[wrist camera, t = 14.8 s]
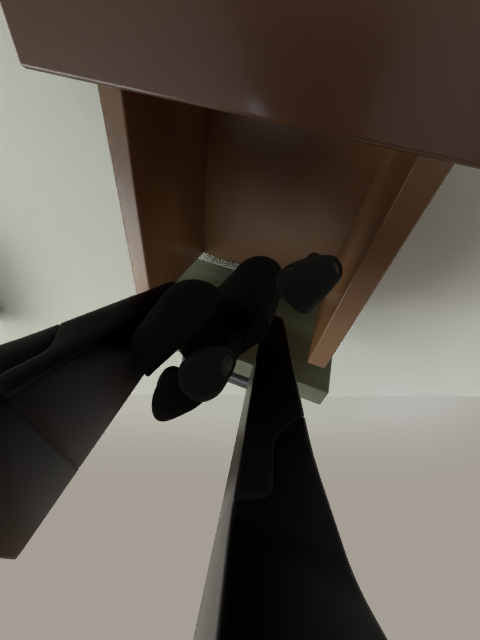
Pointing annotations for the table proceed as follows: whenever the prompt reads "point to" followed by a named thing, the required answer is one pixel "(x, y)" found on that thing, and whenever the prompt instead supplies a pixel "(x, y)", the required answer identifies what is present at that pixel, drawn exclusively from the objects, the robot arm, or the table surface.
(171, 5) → the cabinet
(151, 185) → the drawer
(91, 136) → the table surface
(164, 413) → the wireless earbuds
